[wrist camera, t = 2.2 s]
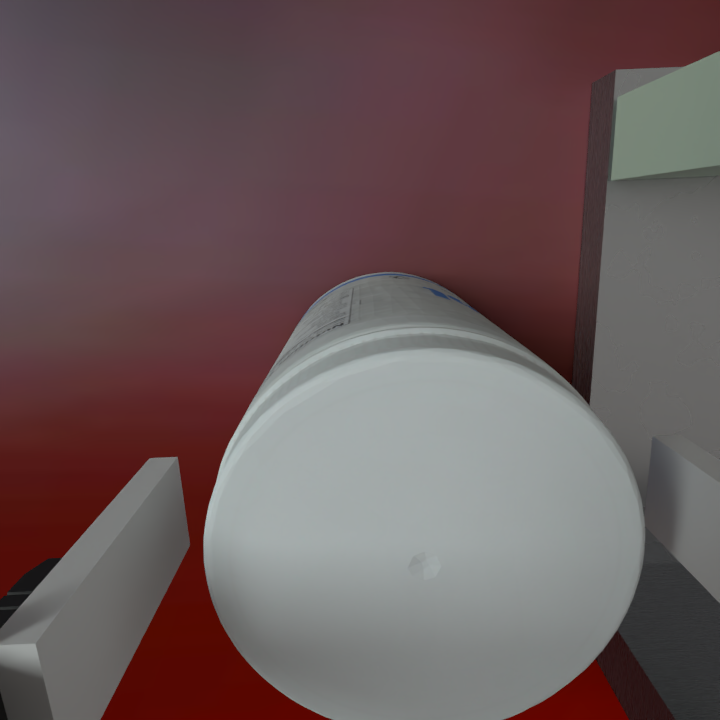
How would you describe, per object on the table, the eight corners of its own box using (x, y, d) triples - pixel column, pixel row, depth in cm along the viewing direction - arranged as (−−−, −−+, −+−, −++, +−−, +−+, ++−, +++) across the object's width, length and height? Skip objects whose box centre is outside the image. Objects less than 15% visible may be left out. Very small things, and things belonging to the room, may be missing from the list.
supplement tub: (526, 349, 25) (764, 527, 11) (404, 494, 27) (466, 810, 12) (362, 224, 23) (382, 235, 9) (244, 388, 25) (106, 613, 11)
